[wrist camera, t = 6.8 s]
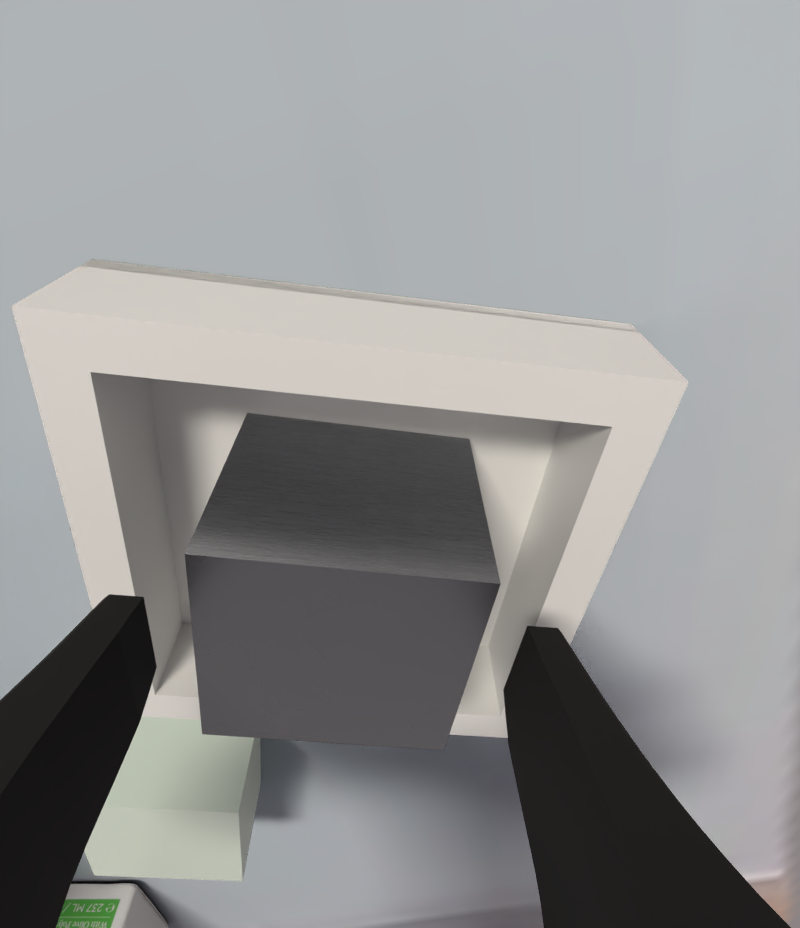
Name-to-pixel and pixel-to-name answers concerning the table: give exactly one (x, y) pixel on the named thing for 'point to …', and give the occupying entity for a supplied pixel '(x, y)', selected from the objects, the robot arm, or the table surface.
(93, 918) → the skincare box
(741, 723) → the table surface
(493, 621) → the box
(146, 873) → the pale green box
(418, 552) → the metal block
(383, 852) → the table surface
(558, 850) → the robot arm
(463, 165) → the table surface
